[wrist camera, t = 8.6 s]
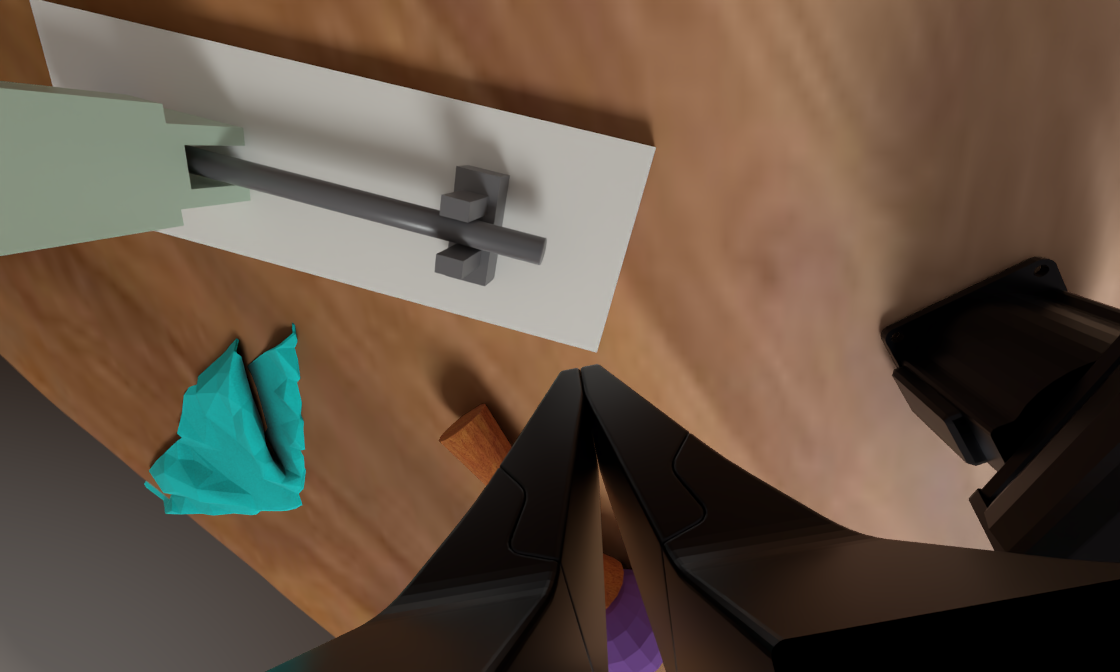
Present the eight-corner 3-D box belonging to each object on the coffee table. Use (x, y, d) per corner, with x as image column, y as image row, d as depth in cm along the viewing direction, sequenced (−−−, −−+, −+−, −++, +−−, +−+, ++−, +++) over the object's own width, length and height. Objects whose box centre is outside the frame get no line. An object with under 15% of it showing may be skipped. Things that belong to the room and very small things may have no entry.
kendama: (489, 417, 21) (701, 681, 24) (511, 377, 27) (679, 595, 30) (403, 475, 22) (615, 720, 26) (441, 425, 28) (610, 630, 31)
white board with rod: (655, 147, 18) (659, 146, 14) (598, 344, 23) (589, 387, 19) (55, 3, 20) (-93, -34, 16) (107, 209, 25) (0, 222, 21)
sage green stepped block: (241, 111, 20) (-73, 80, 11) (252, 214, 22) (-6, 256, 13) (164, 92, 20) (-202, 47, 11) (182, 195, 22) (-116, 225, 13)
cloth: (218, 548, 38) (194, 570, 36) (93, 437, 35) (59, 455, 33) (415, 445, 29) (398, 467, 27) (271, 281, 26) (239, 292, 24)
